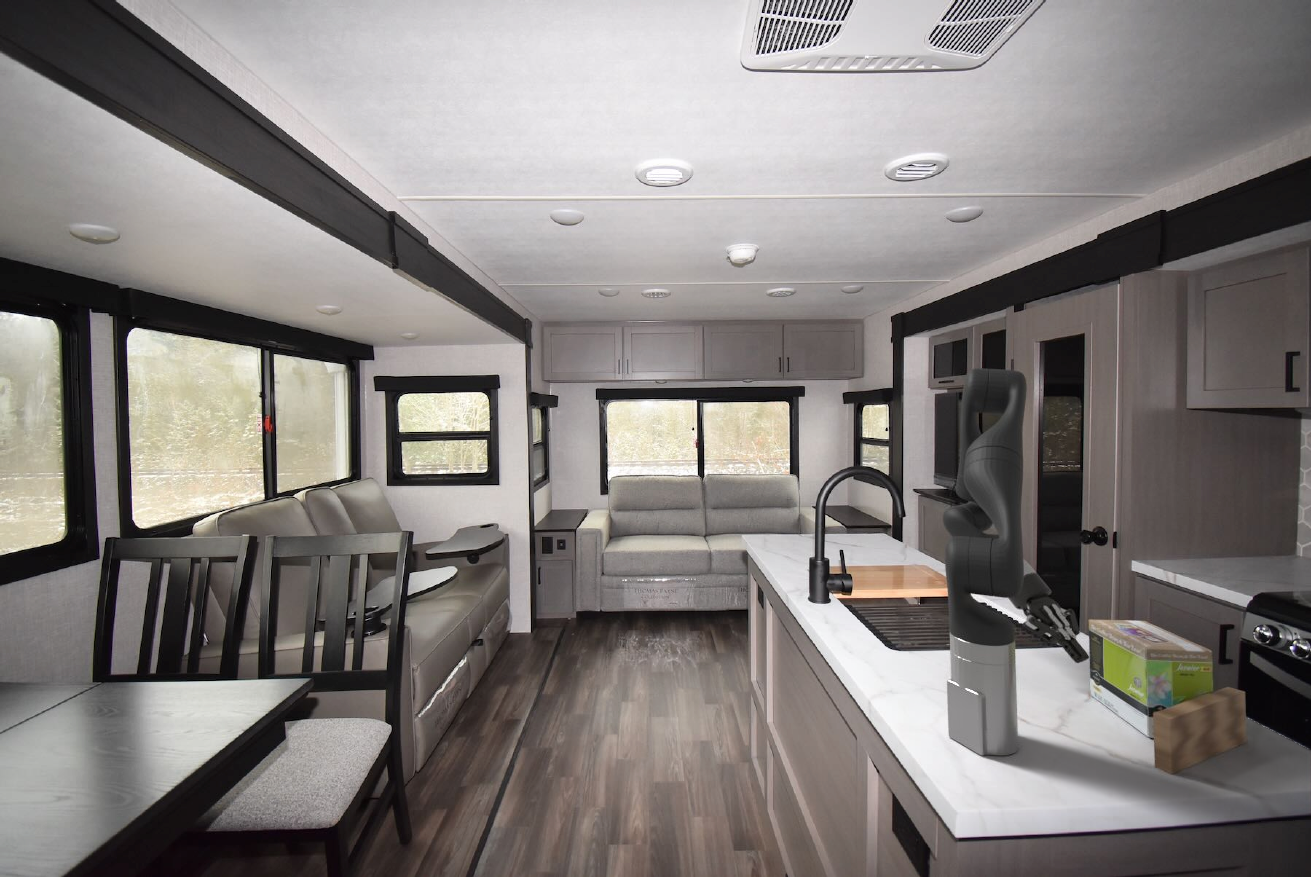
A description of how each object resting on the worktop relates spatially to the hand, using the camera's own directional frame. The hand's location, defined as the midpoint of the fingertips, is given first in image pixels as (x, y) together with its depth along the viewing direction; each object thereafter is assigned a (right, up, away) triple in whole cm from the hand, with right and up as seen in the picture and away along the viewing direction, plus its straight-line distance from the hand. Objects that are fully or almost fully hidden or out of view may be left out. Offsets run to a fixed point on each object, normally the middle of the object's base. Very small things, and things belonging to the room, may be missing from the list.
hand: (1083, 660), depth 104 cm
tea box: (+4, -6, -9) cm, 12 cm away
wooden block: (+2, -6, -20) cm, 21 cm away
